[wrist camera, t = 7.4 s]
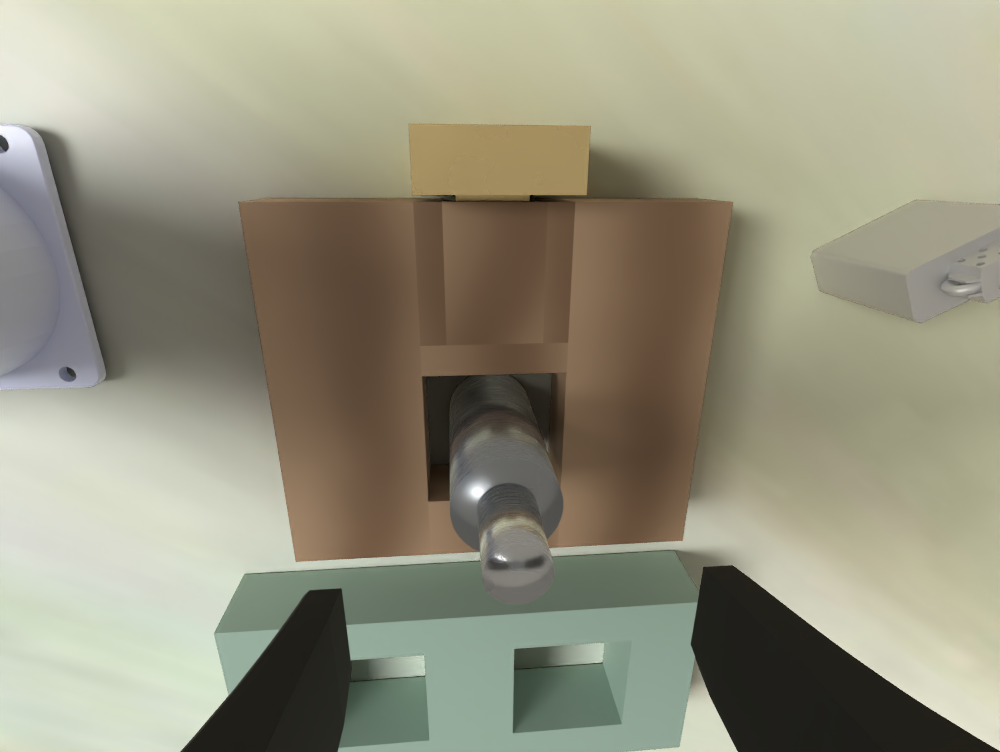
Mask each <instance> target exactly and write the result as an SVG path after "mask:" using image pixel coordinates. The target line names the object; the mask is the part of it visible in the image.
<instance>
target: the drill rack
mask: <svg viewBox="0 0 1000 752" xmlns="http://www.w3.org/2000/svg"><path fill="white" fill-rule="evenodd" d="M552 561H553V565H554V569H555V575H554V580H553V583H552V585H551V586H550V588H549V589H548V590H547V592H546V593H544V594H543V595H542V596H541V597H539V598H538V599H536V600H534V601H531V602H528V603H524V604H507V603H503V602H500V601H498V600H496V599H494V598H493V597H492V596H490V595H489V594H488V592H487V591H486V589H485V587H484V585H483V581H482V569H481V561H476V562H458V563H440V564H422V565H405V566H387V567H369V568H351V569H333V570H316V571H298V572H280V573H262V574H244V576H243V578H242V580H241V582H240V584H239V586H238V588H237V590H236V591H235V593H234V595H233V597H232V599H231V601H230V603H229V605H228V607H227V609H226V611H225V613H224V615H223V617H222V619H221V621H220V623H219V625H218V627H217V629H216V631H215V632H214V636H215V640H216V644H217V649H218V653H219V657H220V661H221V665H222V669H223V674H224V678H225V682H226V686H227V690H228V694H229V695H230V693H231V692H232V691H233V690H234V689H235V687H236V686H237V685H238V683H239V682H240V681H241V680H242V678H243V677H244V676H245V674H246V673H247V672H248V671H249V669H250V668H251V667H252V666H253V664H254V663H255V662H256V660H257V659H258V658H259V657H260V655H261V654H262V653H263V651H264V650H265V649H266V647H267V646H268V645H269V643H270V642H271V641H272V639H273V638H274V637H275V635H276V634H277V633H278V631H279V630H280V628H281V627H282V626H283V624H284V623H285V621H286V620H287V619H288V617H289V616H290V614H291V613H292V612H293V610H294V609H295V607H296V606H297V605H298V603H299V602H300V600H301V599H302V597H303V596H304V595H305V594H306V593H307V592H308V591H309V590H320V589H337V588H342V595H343V603H344V611H345V619H346V627H347V635H348V643H349V651H350V659H351V660H363V659H377V658H391V657H405V656H420V655H424V658H425V675H426V676H425V677H411V678H397V679H384V680H370V681H357V682H350V685H349V692H348V700H347V707H346V714H345V721H344V727H343V731H342V735H341V740H340V744H339V748H338V752H628V751H639V750H650V749H662V748H673V747H679V746H680V741H681V735H682V729H683V724H684V718H685V712H686V707H687V701H688V695H689V689H690V684H691V678H692V672H693V667H694V661H695V655H694V652H693V650H692V647H691V638H692V632H693V627H694V621H695V615H696V609H697V603H698V597H699V591H698V589H697V588H696V586H695V584H694V583H693V581H692V579H691V578H690V576H689V574H688V573H687V571H686V569H685V568H684V566H683V564H682V563H681V561H680V559H679V558H678V556H677V554H676V553H675V551H674V550H672V551H654V552H636V553H618V554H600V555H583V556H565V557H552ZM590 643H605V646H604V656H603V663H601V664H588V665H574V666H561V667H547V668H533V669H520V670H514V649H519V648H534V647H548V646H562V645H576V644H590Z"/></svg>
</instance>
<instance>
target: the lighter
mask: <svg viewBox="0 0 1000 752" xmlns="http://www.w3.org/2000/svg"><path fill="white" fill-rule="evenodd" d="M811 260H812V264H813V268H814V271H815V275H816V279H817V282H818V286H819V290H820V291H821V292H824V293H827V294H830V295H833V296H837V297H840V298H843V299H846V300H849V301H852V302H855V303H859V304H862V305H865V306H868V307H871V308H874V309H878V310H881V311H884V312H887V313H890V314H893V315H896V316H900V317H903V318H906V319H909V320H912V321H915V322H918V323H922V322H924V321H926V320H928V319H931V318H933V317H935V316H937V315H939V314H941V313H943V312H945V311H947V310H949V309H952V308H954V307H956V306H958V305H960V304H962V303H964V302H966V301H968V300H975V301H979V302H983V303H988V302H991V301H993V300H995V299H997V298H999V297H1000V205H998V204H981V203H963V202H946V201H928V200H914V201H912V202H910V203H908V204H906V205H904V206H902V207H900V208H898V209H896V210H894V211H892V212H890V213H888V214H886V215H884V216H882V217H880V218H878V219H876V220H874V221H872V222H870V223H868V224H866V225H864V226H862V227H860V228H858V229H856V230H854V231H852V232H850V233H848V234H846V235H844V236H842V237H840V238H838V239H836V240H834V241H832V242H830V243H828V244H826V245H824V246H822V247H820V248H818V249H816V250H814V251H813V253H812V255H811Z"/></svg>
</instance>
